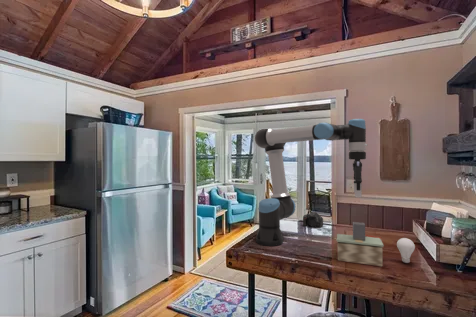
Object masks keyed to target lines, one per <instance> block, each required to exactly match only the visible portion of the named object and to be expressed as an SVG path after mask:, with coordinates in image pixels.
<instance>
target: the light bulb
mask: <svg viewBox="0 0 476 317" xmlns="http://www.w3.org/2000/svg"><path fill="white" fill-rule="evenodd" d="M415 245H416V244H414V242H413V240H411V239H409V238H407V237H402V238H399V239H398V240H397V242H396V247H397V249H398V250H399V253H400V256H401V261H402V262H403V263H404V264H409V263H410V262H411V260H410V259H411V256H412V254H413V253H414V251H415V247H416V246H415Z"/></svg>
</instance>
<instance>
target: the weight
mask: <svg viewBox="0 0 476 317" xmlns="http://www.w3.org/2000/svg"><path fill="white" fill-rule="evenodd" d="M352 235H353V240H363V241H365V235H366V224H365V222H358V221H357V222H356V221H352Z"/></svg>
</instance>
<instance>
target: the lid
mask: <svg viewBox="0 0 476 317" xmlns="http://www.w3.org/2000/svg"><path fill="white" fill-rule="evenodd" d="M336 242H337V243H338V242H344V243H353V244H362V245H371V246H380V247H382V248H384V247H385V245H384V243H383V241H382V238H381V239H380V238H374V237H368V236H367V237H365V241H363V240H353V234H344V233H343V234H342V233H336Z"/></svg>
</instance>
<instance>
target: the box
mask: <svg viewBox="0 0 476 317" xmlns="http://www.w3.org/2000/svg"><path fill="white" fill-rule="evenodd" d="M337 261H340V262H348V263H353V264H354V263H355V264H362V265H363V264H364V265H369V266H370V265H371V266H376V267H377V266H378V267H383V247H380V246H371V245H362V244H353V243H344V242H337Z"/></svg>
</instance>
